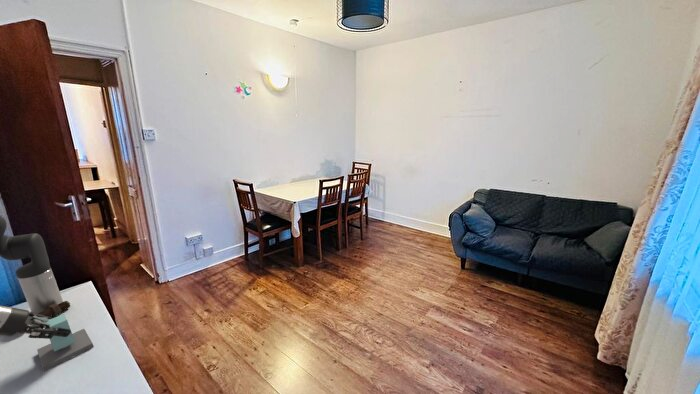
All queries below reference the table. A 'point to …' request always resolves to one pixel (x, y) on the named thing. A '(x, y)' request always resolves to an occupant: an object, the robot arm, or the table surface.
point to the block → (60, 341)
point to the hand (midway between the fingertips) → (67, 329)
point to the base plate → (64, 350)
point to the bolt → (54, 309)
